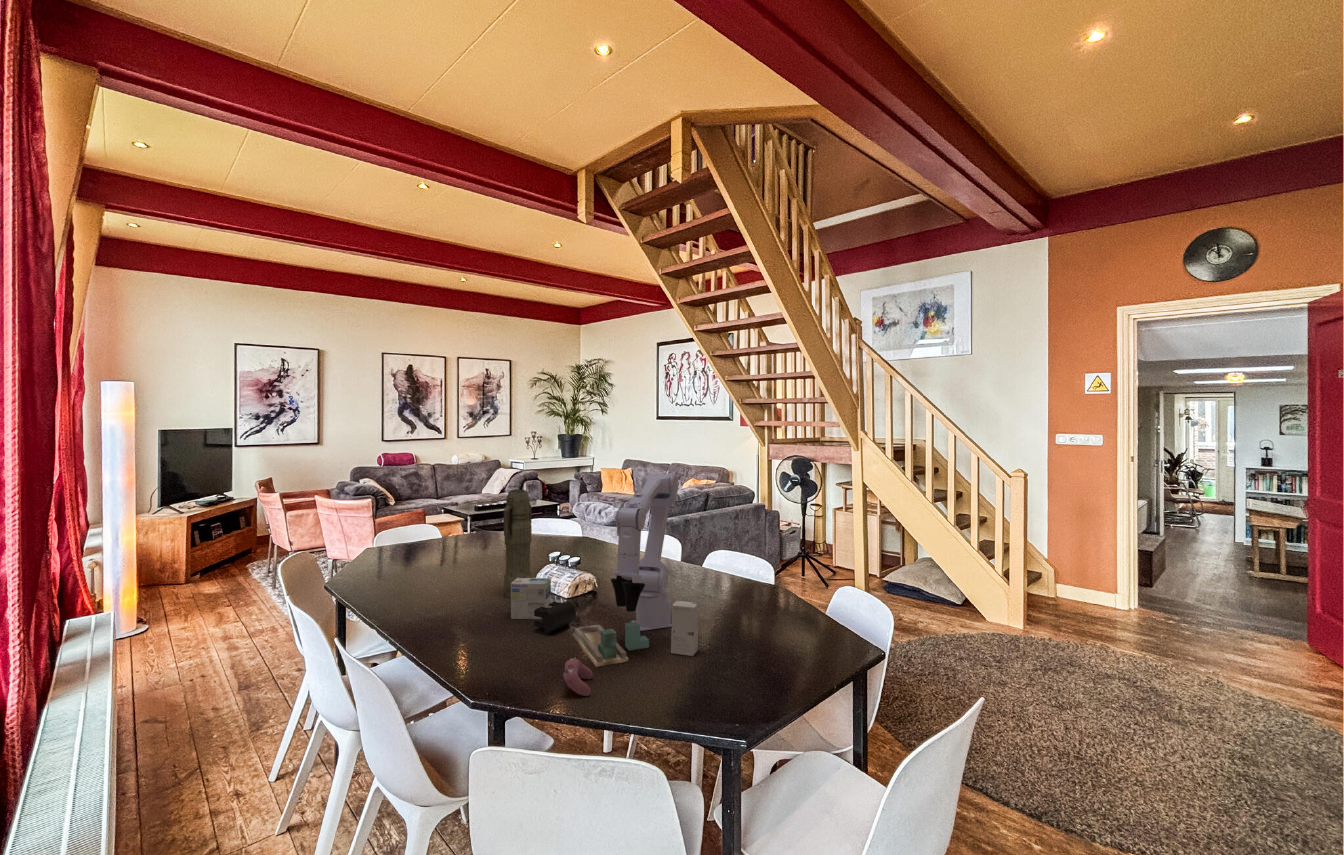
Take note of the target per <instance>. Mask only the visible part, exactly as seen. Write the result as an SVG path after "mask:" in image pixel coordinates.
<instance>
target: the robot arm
mask: <svg viewBox="0 0 1344 855" xmlns="http://www.w3.org/2000/svg"><path fill="white" fill-rule="evenodd" d="M678 489H679V480H678V476H677V475H676V473H649V472H645V473H644V475H642V478H641V489H640V491H639V492H636V493H635V494H634V495H633V496H632V498H631V499H630V501H629V502H628V503H627V505H626V506H625V507H621V508H620V509H618V510H617V512H616V516H615V525H616V535H617V536H618V543H617V559H616V560H617V562H616V564H617V565H616V568H615V571H612V572H611V574H612V575H614V576H615V578H613V577H612V578H610V581H611V582H610V583H611V585H612V586H613V587H612V588H613V592H614V596H615V601H616V602H615V603H616V607H617V608H618V607H625V610H626V612H629V613H630V612H636V613H635V614H636V615H635V616H636V620H631V621H630V622H637V623H638V624H639V625H640V632H644V631H650V630H658V629H663V628H670V627H671V628H672V603H671V602H672V601H671V597H670V595H669V593H668V592H667V590H668V584H669V568H668V567H667V565H666V564H665V563H664V562H662V560H661V558H662V553H663V547H664V542H665V541H664V540H665V535H666V529H667V522H668V517H669V512H670V507H671V506H673V505H674V504H676V500H677V496H678ZM651 508H652V510H651ZM650 510H651V511H652V512H651V517H650V520H649V521H650V522H649V528H648V533H647V539H646V545H645V550H644V555H643V558H641V557H640V556H641V538H642V530H643V529H644V527H645V523H646V520H647V515H648V513H649V511H650Z"/></svg>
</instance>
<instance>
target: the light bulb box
mask: <svg viewBox="0 0 1344 855" xmlns="http://www.w3.org/2000/svg"><path fill="white" fill-rule="evenodd" d="M551 581H552V578H551V577H532V578H517V579H515V580H514V581H513V582H512V583H511V598H510V620H542V618H541V617H536V616H534V611H535V609H537V608H540V607H545V608H551V607H552V606H549V604H550V603H552V582H551Z"/></svg>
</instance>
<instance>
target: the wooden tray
mask: <svg viewBox="0 0 1344 855" xmlns="http://www.w3.org/2000/svg"><path fill="white" fill-rule="evenodd" d="M572 638H573V639H574V640H575V641H576V642H578V643H577V644H578V645H579V647H580V648H581V649H582V650H583V652H584V653H585V654H586V656H587V657H588V659H589V660H590V661H591V662H592V664H593V665H594V666H595V667H596V668H598V667H602V666H607V665H608V666H609V665H615V664H620V663H621V664H622V663H626V662H629V657H628V656H627V652H626V651H625V649H624V648H623V647H622V646H621V645H620V644H619V643H618V642H617V632H616V631H615V629H613V628H609V629H608V628H607V629H605V628H604V627H603V626H602V625H601V624H595V625H594V624H593V625H588V626H580V627H574V632H573V633H572Z"/></svg>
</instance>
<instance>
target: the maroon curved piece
mask: <svg viewBox="0 0 1344 855" xmlns="http://www.w3.org/2000/svg"><path fill="white" fill-rule="evenodd" d="M593 675H594V674H593V671H592V670H591V669H590V668H589V667H588V666H586V664H584V663H583V662H581V661H580V659H578V658H576V657H574V658H570V659H568V660H566V662H565V664H564V672H563V680H564V682H565V684H566V686H567V687H568V688H569V689H570V690H572V691H573V692H575V693H576V694H578V695H580V696H581V697H582V696H583V697H589V696H590V695H591V693H592V689H591V687H590V686H589V684H587V683H586V682H584V681H583V680H582V679H584V680H591V679H592V678H593V677H594V676H593ZM581 678H582V679H581Z"/></svg>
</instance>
